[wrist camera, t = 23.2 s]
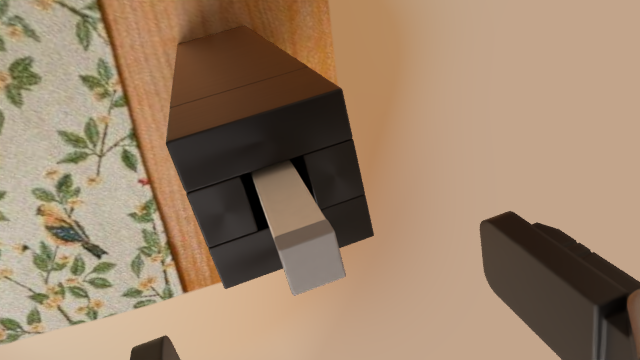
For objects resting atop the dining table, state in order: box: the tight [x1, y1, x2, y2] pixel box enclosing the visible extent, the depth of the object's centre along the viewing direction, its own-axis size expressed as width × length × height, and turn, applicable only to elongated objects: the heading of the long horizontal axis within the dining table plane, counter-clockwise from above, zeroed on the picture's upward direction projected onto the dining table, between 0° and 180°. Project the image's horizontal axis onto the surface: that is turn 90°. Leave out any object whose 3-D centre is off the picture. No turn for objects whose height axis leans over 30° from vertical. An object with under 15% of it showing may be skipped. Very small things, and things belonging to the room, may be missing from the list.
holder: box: [166, 26, 374, 289], centre depth 31 cm, size 6×6×30 cm
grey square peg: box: [250, 159, 346, 296], centre depth 17 cm, size 2×2×10 cm
